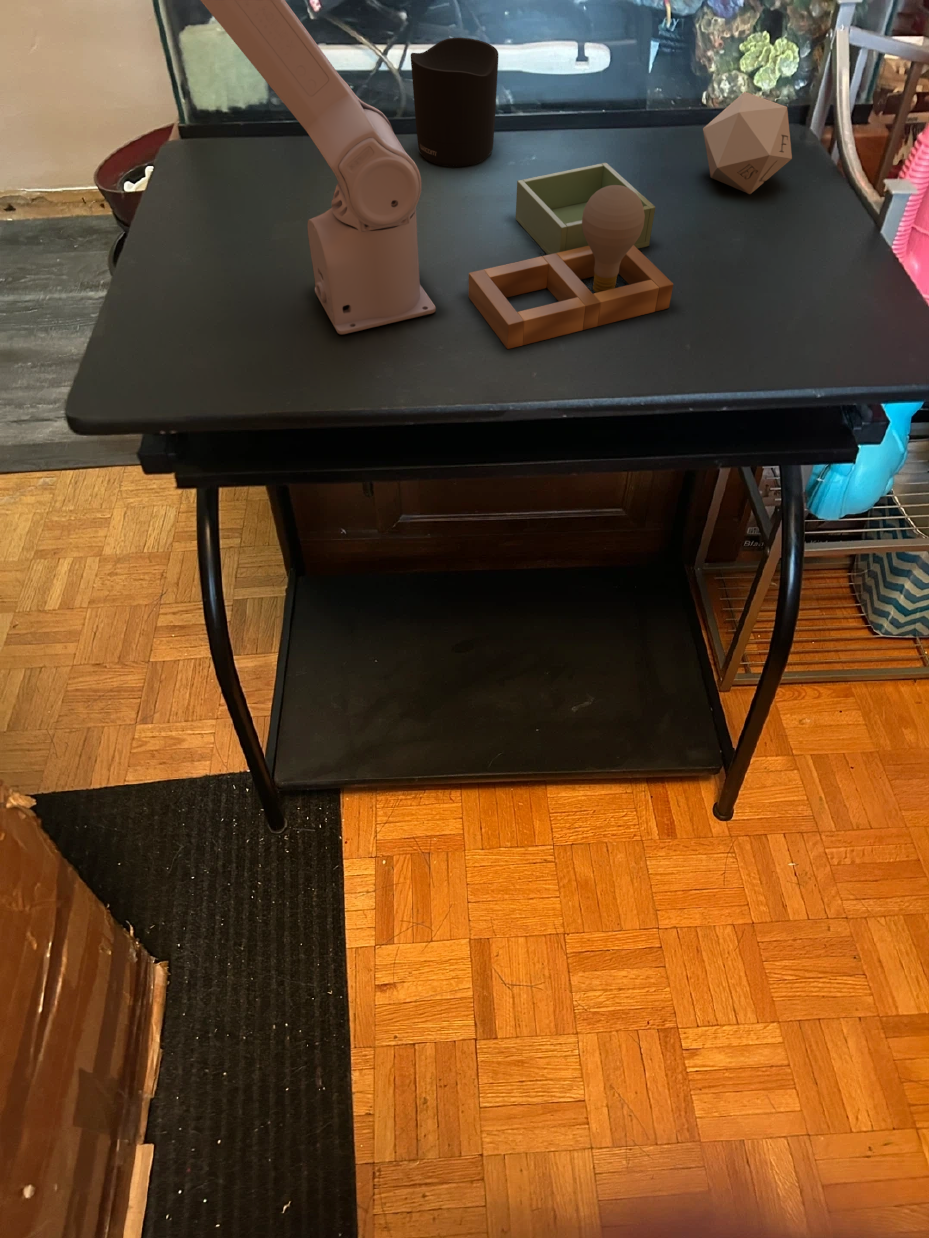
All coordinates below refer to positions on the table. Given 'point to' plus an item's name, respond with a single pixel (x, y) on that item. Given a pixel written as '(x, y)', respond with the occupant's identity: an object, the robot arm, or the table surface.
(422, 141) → the pen holder
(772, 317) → the table surface
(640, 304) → the frame
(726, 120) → the die
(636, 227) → the light bulb
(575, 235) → the basin
